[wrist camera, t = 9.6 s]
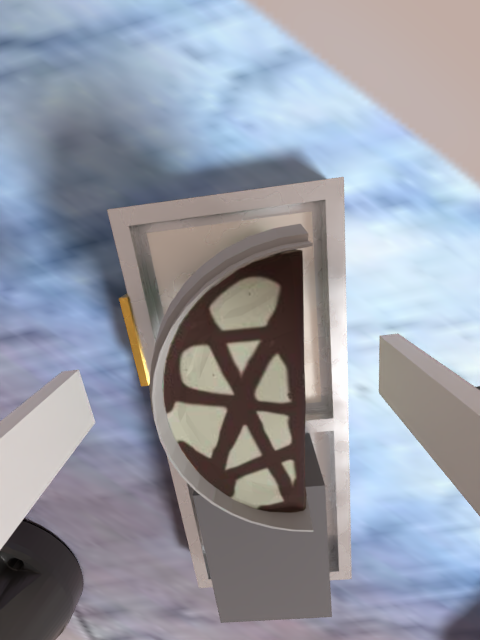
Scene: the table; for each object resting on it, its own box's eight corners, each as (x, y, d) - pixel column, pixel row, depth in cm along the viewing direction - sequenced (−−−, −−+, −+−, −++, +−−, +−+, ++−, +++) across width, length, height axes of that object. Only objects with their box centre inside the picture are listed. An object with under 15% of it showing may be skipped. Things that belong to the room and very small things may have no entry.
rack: (197, 557, 28) (192, 591, 26) (116, 212, 19) (96, 210, 17) (342, 548, 28) (352, 581, 25) (331, 182, 18) (344, 176, 16)
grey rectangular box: (225, 551, 27) (220, 622, 22) (204, 439, 23) (192, 495, 18) (316, 545, 26) (331, 616, 22) (308, 430, 23) (325, 485, 18)
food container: (176, 231, 18) (99, 240, 9) (278, 223, 18) (313, 223, 9) (200, 406, 22) (164, 546, 13) (284, 402, 22) (313, 541, 12)
